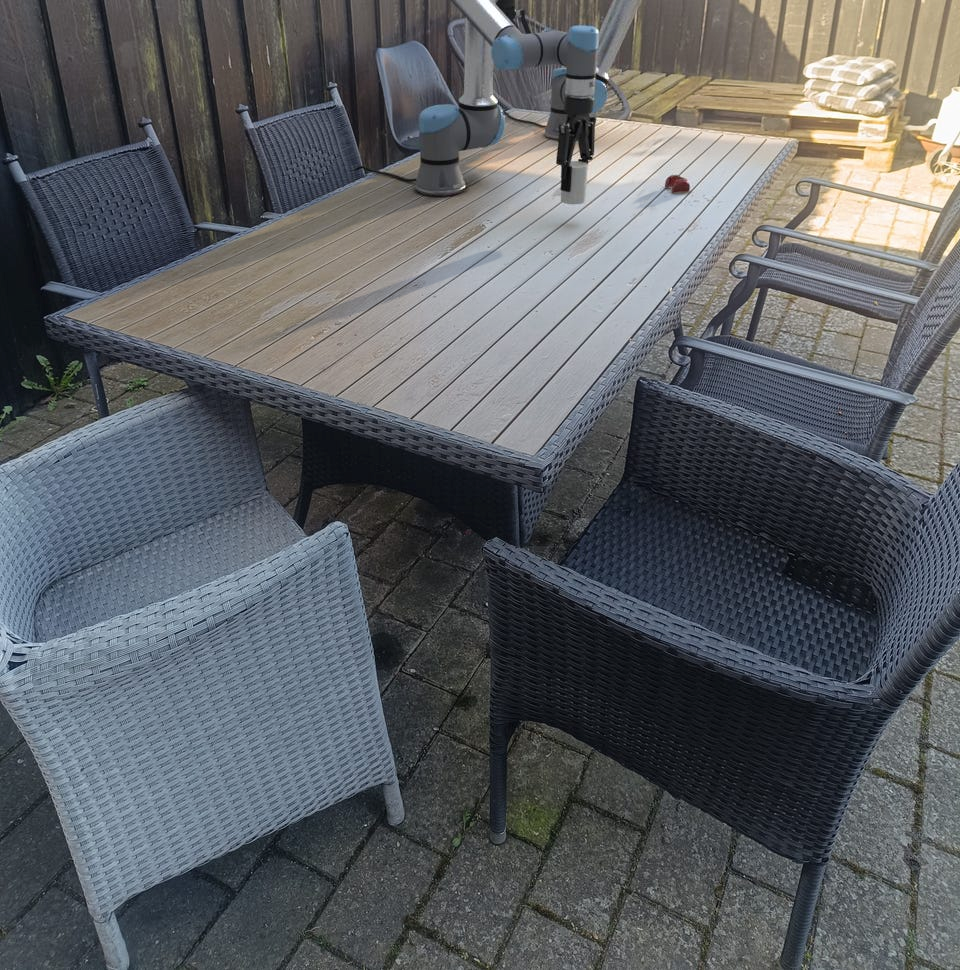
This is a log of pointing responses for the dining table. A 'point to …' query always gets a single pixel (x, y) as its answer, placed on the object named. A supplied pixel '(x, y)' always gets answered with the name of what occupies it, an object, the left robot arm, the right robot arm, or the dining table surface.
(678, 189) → the dental model
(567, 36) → the left robot arm
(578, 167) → the canister
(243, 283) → the dining table surface
